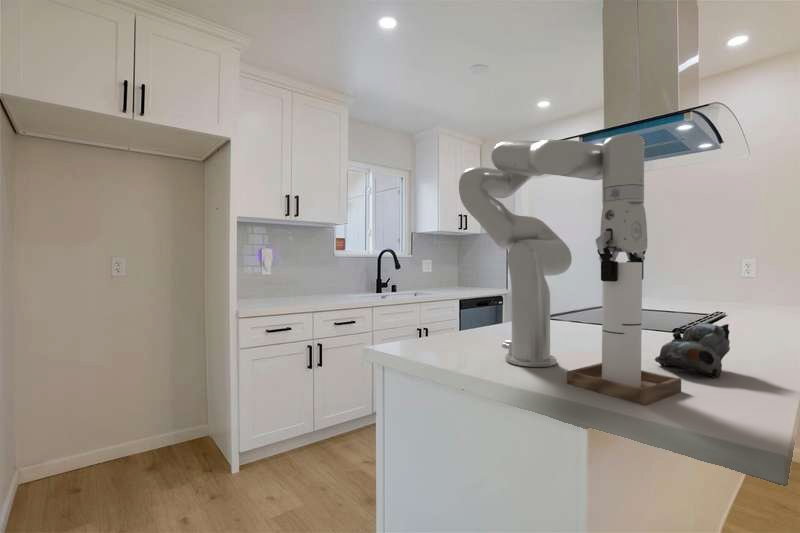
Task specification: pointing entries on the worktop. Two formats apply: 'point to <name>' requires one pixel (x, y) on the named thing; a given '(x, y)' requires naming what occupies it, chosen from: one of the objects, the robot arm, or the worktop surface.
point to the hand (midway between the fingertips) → (622, 280)
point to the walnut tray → (647, 393)
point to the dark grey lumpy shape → (697, 349)
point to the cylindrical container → (622, 326)
